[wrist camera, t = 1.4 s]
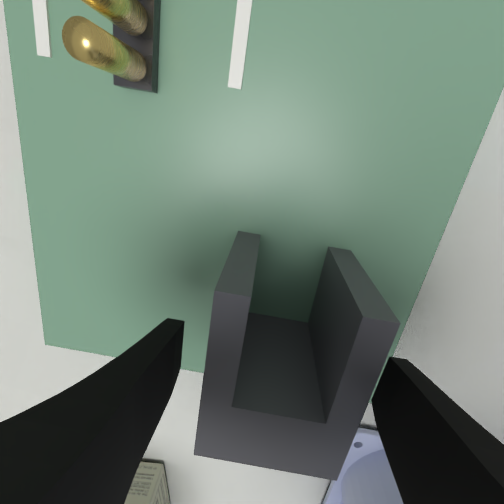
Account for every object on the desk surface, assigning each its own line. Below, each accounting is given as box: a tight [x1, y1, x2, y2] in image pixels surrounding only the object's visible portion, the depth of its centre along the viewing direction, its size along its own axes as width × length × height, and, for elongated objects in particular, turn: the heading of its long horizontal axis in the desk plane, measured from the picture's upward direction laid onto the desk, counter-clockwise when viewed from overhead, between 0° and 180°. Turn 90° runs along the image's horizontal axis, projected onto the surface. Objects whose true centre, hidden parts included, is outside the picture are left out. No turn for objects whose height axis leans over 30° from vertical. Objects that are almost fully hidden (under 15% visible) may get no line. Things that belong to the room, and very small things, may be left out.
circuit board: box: [3, 0, 504, 403], centre depth 13 cm, size 20×18×1 cm
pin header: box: [62, 0, 161, 94], centre depth 9 cm, size 4×1×4 cm, turn 171°
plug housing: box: [194, 231, 401, 481], centre depth 12 cm, size 6×5×6 cm
